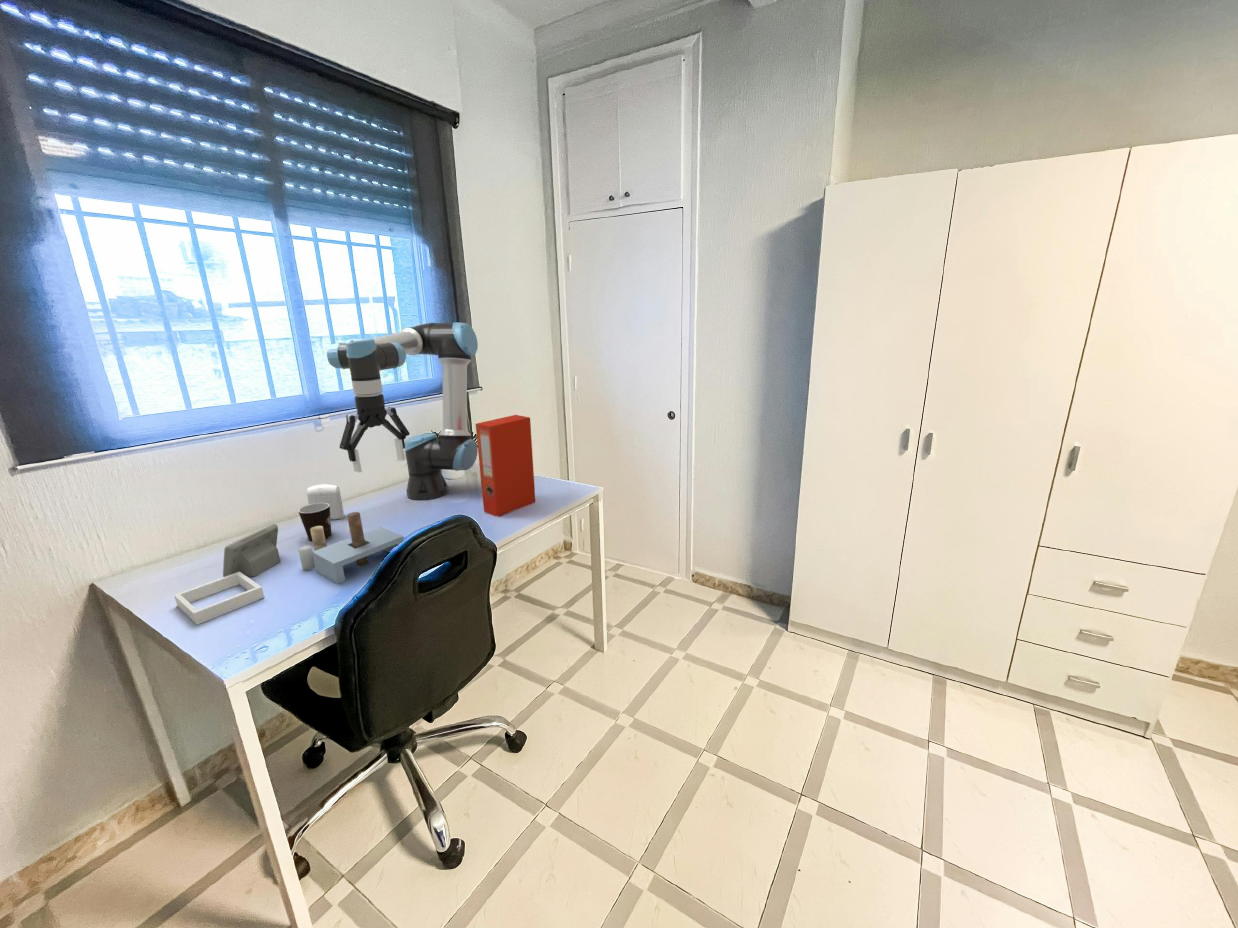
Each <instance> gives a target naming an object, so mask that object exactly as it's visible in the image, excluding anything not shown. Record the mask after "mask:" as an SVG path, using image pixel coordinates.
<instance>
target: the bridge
mask: <svg viewBox="0 0 1238 928" xmlns="http://www.w3.org/2000/svg"><path fill="white" fill-rule="evenodd" d="M363 534H364V539H365V545H364V546H361V547H358V548H356V549H355V548H353V545H352V539H351V537H349V538H346V539H344V540H341V541H338V542H335V543H333V544H330V545H327V546H326V547H324V548H321V549H318V550H316V551H315V550H314V551H313V550H312V551H313V552H312V555H313V559H314V564H315V568H314V569H315V572H316V573H318V574H320V575H322V576H323V577H325V578H326V579H328V580H330V581H332V582H334V583H335V584H337V585H339V584H341V583H344V582H346V576H345V572H344V566H345V565H348V564H350V563H352V562H356V561H355V560H358V559H360V558H363V557H365V556H370V555H373V554H375V553H377V552H380V551H382V550H383V551H386V552H387V553H389V552H390V551H391V550H392V549H393V548H394V547H396V546H398V545H399V544H400V543H402V542H403V541H404V542H405V537H404V535H401V534H399V533H397V532H395V531H392V530H389V529H388V528H385V527H383V526H378V527H375V528H374V529H370V530H367V531H366V532H365V531H364V532H363Z"/></svg>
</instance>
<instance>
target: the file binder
mask: <svg viewBox="0 0 1238 928" xmlns="http://www.w3.org/2000/svg"><path fill="white" fill-rule="evenodd" d="M475 430H476V431H475V433H476V441H477V442H476V445H477V448H478V452H477V455H478V463H479V473H480V475H479V476H480V483H481V484H480V485H481V494H482V505H483V512H484V513H486V514H488V515H491V516H494V517H496V516H500V517H502V516H504V515H506V514H509V513H512V512H514V511H517V510H519V509H522V508H524V507H526V506H527V507H528V506H529V505H531V504H535V503H536V489H535V475H534V458H533V442H532V441H533V440H532V425H531V417H530V416H524V415H519V414H513V415H508V416H504V417H500V418H495V419H491V420H486V421H481V422H477V423H475Z"/></svg>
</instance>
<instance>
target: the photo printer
mask: <svg viewBox="0 0 1238 928" xmlns="http://www.w3.org/2000/svg"><path fill="white" fill-rule="evenodd" d="M306 496H307V502H308V505H309V504H314V503H328V504H329V505H330V519H331V520H342V519H344V517H345V514H344V506H343V500H342V496H341V489H340V487H339V486H337V485H334V484H329V483H326V484H324V483H323V484H315V485H311V486H310V487H308V488H307V489H306Z"/></svg>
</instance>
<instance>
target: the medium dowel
mask: <svg viewBox="0 0 1238 928" xmlns="http://www.w3.org/2000/svg"><path fill="white" fill-rule="evenodd" d="M310 531H311V536H312V540H313V541H312V544H313V550H314V551H316V550H318V549H321V548H324V547H326V546H328V545H327V541H326V540H327V539H325V535H324V530H323V526H315V527H312V528H311V529H310Z"/></svg>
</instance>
